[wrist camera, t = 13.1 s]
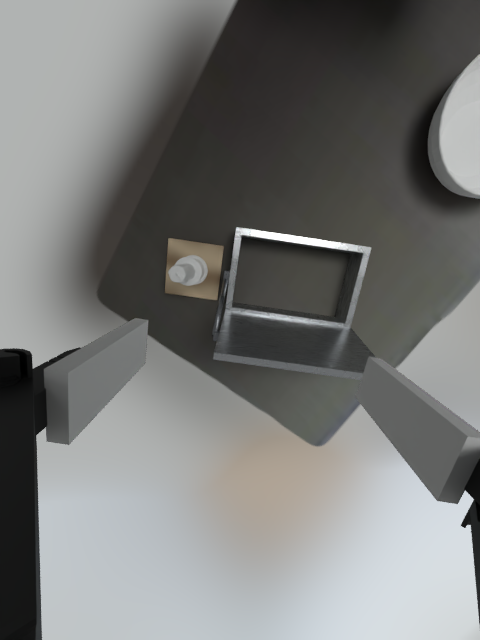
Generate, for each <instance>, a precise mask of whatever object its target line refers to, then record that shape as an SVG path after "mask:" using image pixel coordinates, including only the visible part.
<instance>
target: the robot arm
mask: <svg viewBox="0 0 480 640" xmlns="http://www.w3.org/2000/svg"><path fill="white" fill-rule="evenodd" d="M147 332H148V320H144V319H138V318H134V319H133V320H131V321H129V322H127V323H125V324H124V325H122V326H120V327H119V328H117V329H115V330H113V331H111V332H109V333H107V334H106V335H104V336H102V337H100V338H98V339H97V340H95V341H93V342H91V343H90V344H88V345H86V346H84V347H82V348H76V349H73V350H69V351H66V352H64V353H62V354H60V355H59V356H57V357H55V358H53V359H51V360H49V362H45V363H43V364H41V365H40V366H38V367H36V368H34V369H33V368H32V354H31V353H30V351H27V350H24V349H0V640H42V631H41V594H40V556H39V523H38V522H39V520H38V519H39V518H38V483H37V482H38V481H37V445H36V435H37V434H38V433H39V432H41V431H42V430H43V429H44V428H45V427H46V436H47V441H48V442H54V443H61V444H68V445H69V444H70V443H71V442H72V441H73V440H74V439H75V438H76V436H78V435H79V433H80V432H81V431H82V430H83V429H84V428H85V427H86V426H87V425H88V424H89V423H90V422H91V421H92V420H93V419H94V418H95V416H96V415H97V414H98V413H99V412H100V411H101V410H102V409H103V408H104V407H105V406H106V405H107V403H108V402H110V400H111V399H112V398H113V397H114V396H115V395H116V394H117V393H118V392H119V391H120V390H121V389H122V388H123V386H124V385H125V384H126V383H127V382H128V381H129V380H130V379H131V378H132V377H133V376H134V375H135V374H136V373H137V372H138V371H139V369H140V368H141V367H142V366H143V365H144V364H145V359H146V346H147ZM356 399H357V400H358V401H359V402H360V404H361V405H362V406H363V407H364V409H365V410H366V411H367V412H368V414H369V415H370V416H371V418H372V419H373V420H374V421H375V423H376V424H377V425H378V426H379V428H380V429H381V430H382V432H383V433H384V434H385V435H386V437H387V438H388V439H389V440H390V441H391V443H392V444H393V445H394V447H395V448H396V449H397V451H398V452H399V453H400V454H401V456H402V457H403V458H404V459H405V461H406V462H407V463H408V465H409V466H410V467H411V468H412V470H413V471H414V472H415V473H416V475H417V476H418V477H419V478H420V480H421V481H422V482H423V483H424V485H425V486H426V487H427V489H428V490H429V491H430V492H431V493H432V495H433V496H434V497H435V499H436V500H437V501H442V502H448V503H455V504H458V502H459V500H460V498H461V497H462V495H463V493H464V491H465V490H466V491H467V492H468V493H469V494H470V496H471V497H473V499H474V501H473V503H472V505H471V507H470V509H469V510H468V513H467V514H466V516H465V518H464V520H463V522H462V524H461V526H462V527H464V528H465V527H466V526H467V525H471V530H472V531H471V532H472V542H473V553H474V565H475V577H476V588H477V600H478V611H479V623H480V432H479V431H478V430H476V429H475V428H474V427H472V426H471V425H470V424H468V423H467V422H465V421H464V420H463V419H461V418H460V417H459V416H457V415H456V414H455V413H453V412H452V411H451V410H449V409H448V408H447V407H445V406H444V405H443V404H441V403H440V402H439V401H437V400H436V399H435V398H433V397H432V396H431V395H429V394H428V393H427V392H425V391H424V390H422V389H421V388H420V387H419V386H417V385H416V384H415V383H413V382H412V381H410V380H409V379H407V378H406V377H405V376H404V375H402V374H401V373H400V372H398V371H397V370H396V369H394V368H393V367H392V366H390V365H389V364H388V363H386V362H385V361H384V360H382V359H380V358H374V357H368V360H367V363H366V366H365V369H364V372H363V375H362V379H361V382H360V385H359V388H358V391H357V394H356Z"/></svg>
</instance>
